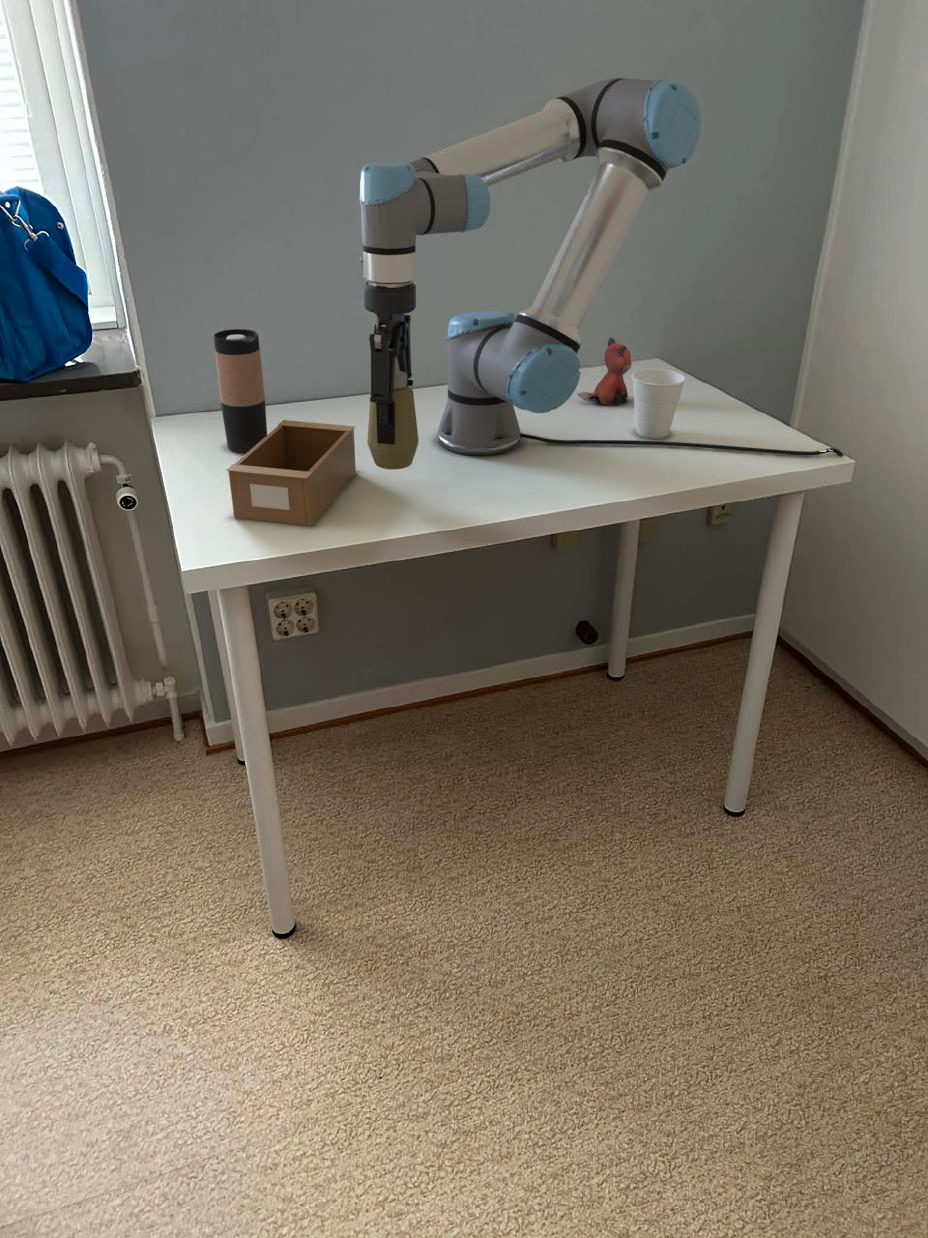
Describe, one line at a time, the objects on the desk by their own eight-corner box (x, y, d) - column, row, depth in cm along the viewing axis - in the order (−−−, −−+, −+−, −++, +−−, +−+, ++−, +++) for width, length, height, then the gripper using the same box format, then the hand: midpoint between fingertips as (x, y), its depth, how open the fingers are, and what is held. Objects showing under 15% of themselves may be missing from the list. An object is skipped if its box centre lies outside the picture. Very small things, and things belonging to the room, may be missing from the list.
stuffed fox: (569, 398, 199) (573, 340, 193) (615, 392, 203) (621, 335, 197) (588, 409, 193) (593, 350, 187) (635, 403, 197) (642, 344, 191)
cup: (620, 438, 179) (625, 380, 174) (632, 421, 187) (638, 365, 181) (672, 446, 176) (680, 387, 170) (683, 429, 184) (691, 372, 178)
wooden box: (357, 471, 164) (355, 426, 160) (310, 528, 145) (306, 478, 141) (287, 464, 166) (283, 419, 162) (232, 519, 147) (226, 469, 143)
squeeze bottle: (412, 475, 148) (410, 359, 139) (361, 470, 149) (357, 355, 140) (424, 456, 155) (423, 344, 146) (376, 452, 156) (372, 341, 147)
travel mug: (229, 438, 176) (216, 328, 166) (271, 438, 177) (260, 328, 167) (223, 454, 170) (209, 340, 160) (267, 453, 170) (256, 340, 160)
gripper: (384, 267, 147) (387, 413, 159) (343, 294, 130) (350, 454, 142) (431, 270, 145) (431, 417, 157) (396, 298, 129) (399, 459, 141)
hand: (393, 434), depth 150 cm, fingers closed on squeeze bottle, 6 cm apart
